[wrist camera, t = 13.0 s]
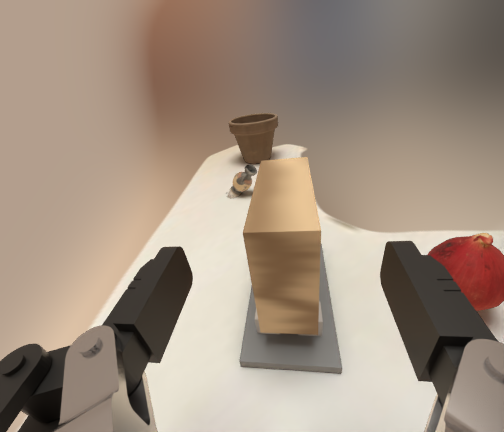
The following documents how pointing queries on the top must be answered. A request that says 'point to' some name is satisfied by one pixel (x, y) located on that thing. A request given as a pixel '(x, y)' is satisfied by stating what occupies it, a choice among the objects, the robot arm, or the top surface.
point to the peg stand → (294, 340)
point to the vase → (242, 181)
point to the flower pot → (254, 135)
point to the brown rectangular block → (284, 247)
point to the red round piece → (474, 268)
